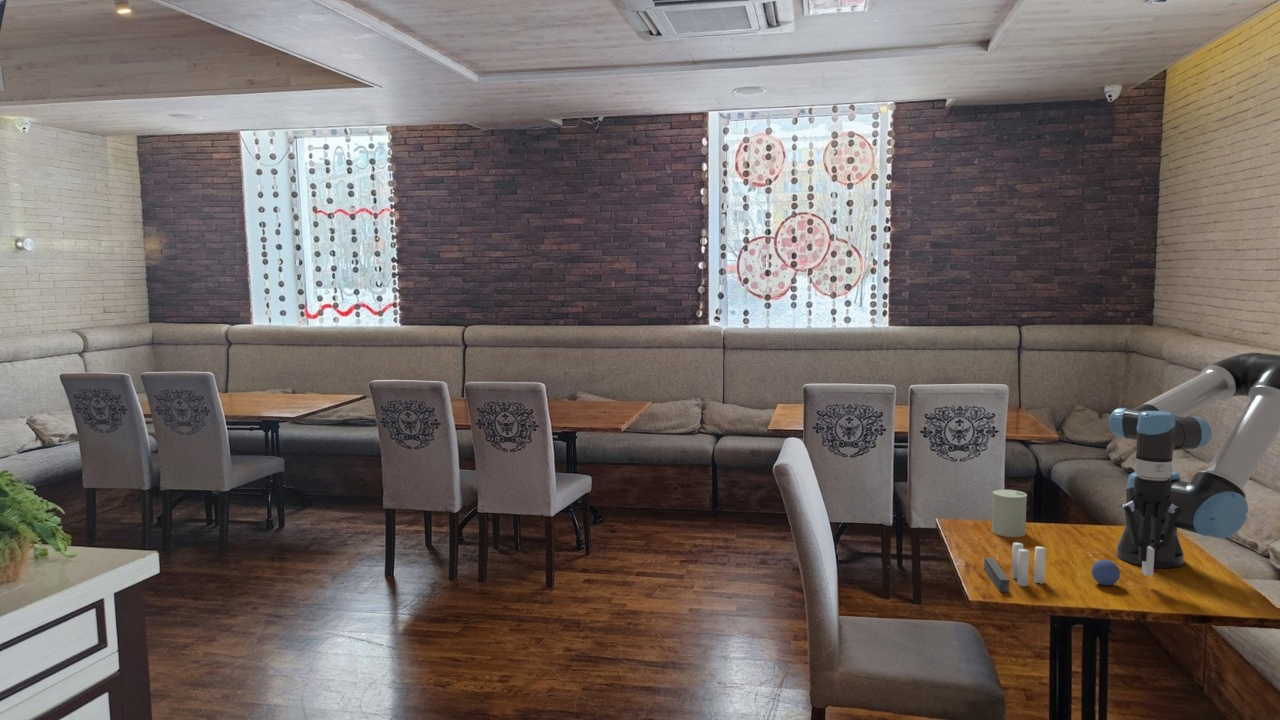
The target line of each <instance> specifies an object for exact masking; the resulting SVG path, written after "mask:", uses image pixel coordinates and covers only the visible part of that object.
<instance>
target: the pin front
mask: <svg viewBox="0 0 1280 720" xmlns="http://www.w3.org/2000/svg"><path fill="white" fill-rule="evenodd" d="M1046 551H1047V548H1046V547H1044V546H1038V545H1037V546H1035V547H1034V562H1033V565H1034V566H1033V567H1034V568H1033V582H1034V583H1035V584H1038V583H1040V585H1043V583H1044V584H1045V583H1046V581H1045V580H1046V579H1045V577H1046V559H1047V558H1046V554H1047V552H1046Z"/></svg>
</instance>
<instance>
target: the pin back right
mask: <svg viewBox="0 0 1280 720" xmlns="http://www.w3.org/2000/svg"><path fill="white" fill-rule="evenodd" d="M1019 549H1024V543H1021V542H1012V552H1011V553H1012V555H1011V558H1012V559H1011V579H1013V580H1017V572H1018V550H1019Z"/></svg>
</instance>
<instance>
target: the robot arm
mask: <svg viewBox="0 0 1280 720" xmlns="http://www.w3.org/2000/svg"><path fill="white" fill-rule="evenodd" d="M1236 396H1237V397H1249V399H1250V401H1249V402H1248V404H1247V405H1246V407H1245V409H1244V410H1243V412H1242V413H1241V415H1240V416H1239V418H1238V419H1237V421H1236V423H1235V424H1234V426H1233V428H1232V429H1231V431H1230V432H1229V434H1228V436H1227V437H1226V438H1225V440H1224V442H1223V443H1222V444H1221V446H1220V447H1219V449H1218V451H1217V452H1216V454H1215V455H1214V457H1213V458H1212V460H1211V461H1210V463H1209V465H1208V467H1206V469H1205V470H1199V471H1197V472H1195V473H1194V475H1193V476H1192V478H1191V480H1190V481H1189V482H1188V481H1183V480H1181V478H1182V477H1181V474H1180V473H1179V472H1177V471H1173V454H1174V451H1181V450H1189V449H1190V450H1194V449H1197V448H1201V447H1204V446H1206V445H1207V444H1208V443H1209V442H1210V440H1212V439H1211V438H1212V428H1211V426H1210V424H1209V422H1208V421H1207V420H1205V419H1204V418H1202V417H1199V416H1192V415H1191V416H1190V414H1193V413H1195V412H1198V411H1199V410H1201V409H1203V408H1204V407H1207V406H1209V405H1211V404H1212V403H1214V402H1216V401H1218V400H1219V401H1223V400H1228V399H1230V398H1232V397H1236ZM1108 427H1109V430H1110V432H1111V433H1112V434H1113V435H1114V436H1115V437H1120V438H1124V439H1125V440H1132V441H1136V452H1135V462H1134V463H1135V464H1134V472H1132V473H1130V474H1129V475H1128V478H1127V486H1126V487H1125V488H1126V501H1125V502H1126V503H1121V504H1120V508H1121V510H1122V511H1123V512H1124V515H1125V525H1124V530H1123V531H1122V534H1121V535H1120V539H1119V540H1118V543H1117V545H1116V556H1117V557H1118V558H1119V559H1120V560H1123V561H1125V562H1127V563H1131V564H1134V565H1138V566H1141V573H1142V575H1144V576H1146V577H1153V576H1154V568H1159V569H1163V568H1164V569H1170V568H1171V569H1173V568H1179V567H1181V566H1182V565H1184V559H1185V555H1184V552H1183V551H1184V550H1183V547H1182V545H1181V542H1180V538H1179V536H1178V529H1182V530H1185V531H1188V532H1192V533H1196V534H1198V535H1201V536H1204V537H1211V538H1216V539H1226V538H1227V539H1228V538H1230V537H1232V536H1234V535H1235V534H1236V533H1238V532H1239V531H1240V530H1241V529H1242V527H1243V526H1244V525H1245V524H1246V523H1245V522H1246V520H1247V519H1248V518H1247V517H1248V515H1247V513H1248V512H1249V505H1248V501H1247V500H1246V498H1247V494H1246V492H1245V490H1244V487H1245V486H1246V484H1247V483H1248V482H1249V479H1250V478H1251V476H1252V474H1253V473H1254V472H1255V470H1256V468H1257V467H1258V465H1259V464H1260V463H1261V460H1262V459H1263V458H1264V456H1265V454H1266V452H1267V451H1268V449H1269V448H1270V447H1271V445H1272V443H1273V441H1274V439H1276V437H1277V435H1278V433H1279V432H1280V354H1273V353H1263V352H1262V353H1261V352H1246V353H1245V352H1244V353H1239V354H1237V355H1234V356H1233V355H1232V356H1230V357H1226V358H1223V359H1221V360H1219V361H1216V362H1214V363H1212V364H1209V365H1207V366H1206V367H1204V368H1203V369H1202V370H1201V371H1200V373H1199V375H1197V376H1195V377H1192V378H1190V380H1187V381H1185V382H1183V383H1181V384H1179V385H1177V386H1175V387H1174V388H1172V389H1170V390H1168V391H1166V392H1164V393H1162V394H1160V395H1157V396H1156V397H1154V398H1152V399H1150V400H1148V401H1146V402H1145V403H1142V404H1141V405H1139V406H1136V407H1134V408H1129V407H1118V408H1116V409H1114V410H1113V411H1112V412H1111V414H1110V416H1109V418H1108Z"/></svg>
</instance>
